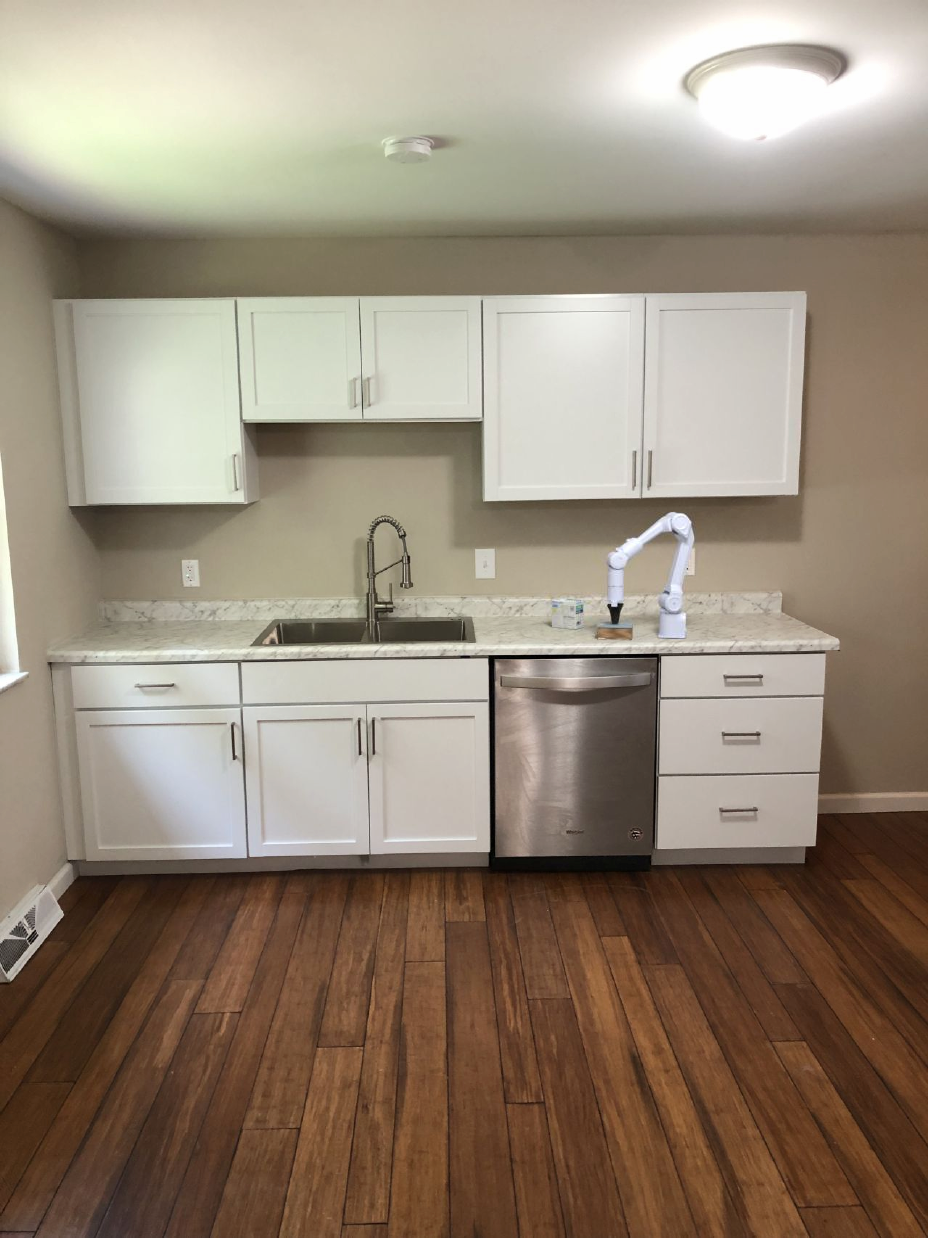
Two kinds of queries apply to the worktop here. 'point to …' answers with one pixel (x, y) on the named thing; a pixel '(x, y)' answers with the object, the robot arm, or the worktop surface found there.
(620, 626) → the lid
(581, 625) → the light bulb box
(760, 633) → the worktop surface
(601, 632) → the crate
